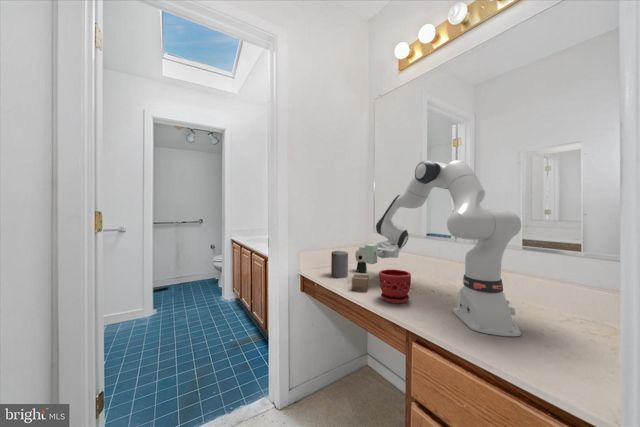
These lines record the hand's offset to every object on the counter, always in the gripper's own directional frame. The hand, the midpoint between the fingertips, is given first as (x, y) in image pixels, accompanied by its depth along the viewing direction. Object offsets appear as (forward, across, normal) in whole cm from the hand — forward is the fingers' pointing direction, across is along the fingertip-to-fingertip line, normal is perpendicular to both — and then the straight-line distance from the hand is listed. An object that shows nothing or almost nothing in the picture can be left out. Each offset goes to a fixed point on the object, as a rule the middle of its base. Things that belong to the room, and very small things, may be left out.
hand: (370, 253), depth 126 cm
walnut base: (+7, -1, +17) cm, 18 cm away
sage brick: (-1, 0, +5) cm, 5 cm away
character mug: (-22, -19, +17) cm, 33 cm away
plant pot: (+9, +17, +17) cm, 26 cm away
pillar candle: (-5, -23, +17) cm, 29 cm away
